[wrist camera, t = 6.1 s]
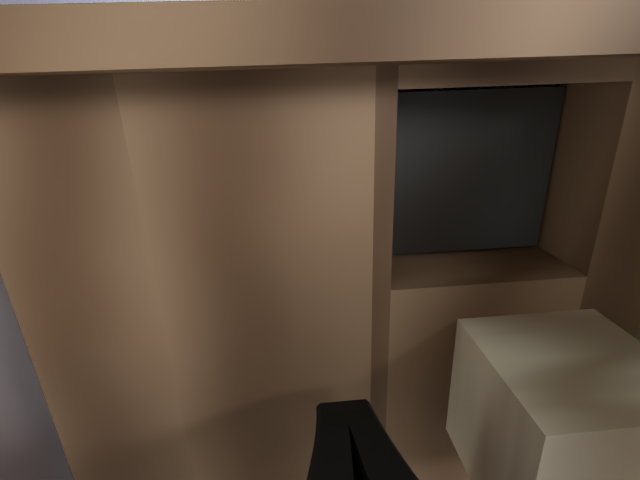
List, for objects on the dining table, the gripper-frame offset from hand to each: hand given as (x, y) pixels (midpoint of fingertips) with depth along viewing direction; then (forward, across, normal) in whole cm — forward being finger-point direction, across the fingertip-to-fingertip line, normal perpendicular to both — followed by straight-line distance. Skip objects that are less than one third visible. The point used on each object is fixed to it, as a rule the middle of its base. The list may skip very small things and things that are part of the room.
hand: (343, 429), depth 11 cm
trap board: (+4, -1, 0) cm, 4 cm away
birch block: (+1, -5, 0) cm, 6 cm away
